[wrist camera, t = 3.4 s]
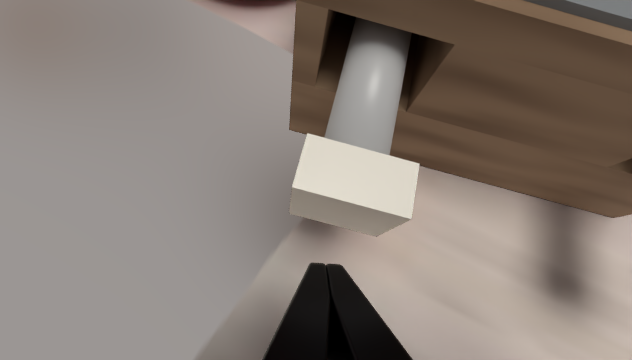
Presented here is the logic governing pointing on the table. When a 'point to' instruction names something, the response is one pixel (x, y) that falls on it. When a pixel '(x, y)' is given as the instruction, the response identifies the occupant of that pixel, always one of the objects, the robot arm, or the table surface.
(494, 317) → the table surface
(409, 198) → the button
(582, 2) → the card
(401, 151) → the button box
